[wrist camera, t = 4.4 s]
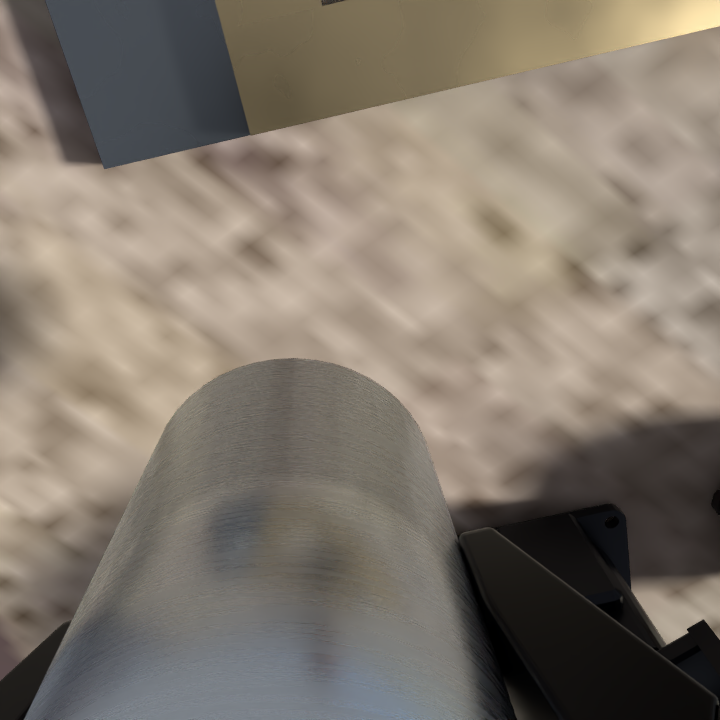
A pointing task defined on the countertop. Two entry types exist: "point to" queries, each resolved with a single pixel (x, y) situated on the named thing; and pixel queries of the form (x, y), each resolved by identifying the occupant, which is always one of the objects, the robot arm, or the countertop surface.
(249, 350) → the countertop surface
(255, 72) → the upper end link
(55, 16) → the lower end link
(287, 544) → the pin
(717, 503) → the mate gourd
